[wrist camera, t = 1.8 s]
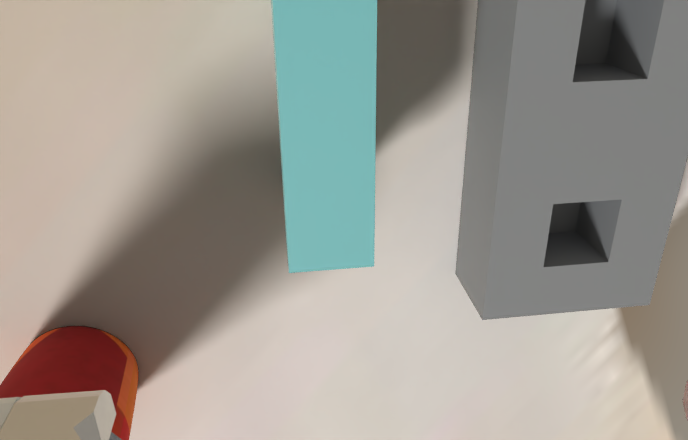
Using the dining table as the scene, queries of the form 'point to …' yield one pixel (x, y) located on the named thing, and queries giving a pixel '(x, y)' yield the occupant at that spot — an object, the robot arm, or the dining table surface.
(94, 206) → the dining table surface
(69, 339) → the paper cup
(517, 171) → the gray socket block
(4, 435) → the robot arm
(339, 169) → the notched turquoise block
